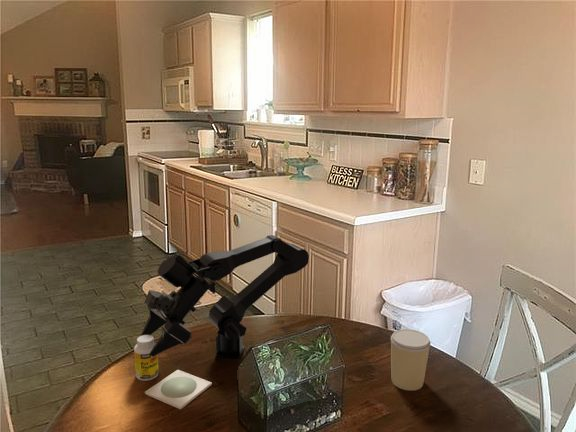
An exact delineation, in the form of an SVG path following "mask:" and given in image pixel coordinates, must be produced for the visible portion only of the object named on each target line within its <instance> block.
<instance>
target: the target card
mask: <svg viewBox="0 0 576 432" xmlns="http://www.w3.org/2000/svg"><path fill="white" fill-rule="evenodd" d="M212 384H213V383H212V381H208V380H207V379H203V378H201V377H198V376H195V375H192V374H191V373H188V372H186V371H183V370H180V369H176V370H175V371H174V372H172V373H171V374H169V375H167V376H166V377H164V378H163V379H162V380H160V381H159V382H157V383H156V384H154V385H153V386H151V387H150V388H149V389H147V390H146V391H144V394H145V395H147V396H148V397H150V398H154V399H155V400H158V401H160V402H162V403H165V404H167V405H169V406H172V407H174V408H175V409H178V410H182V409H183V408H184V407H186V406H187V405H188V404H190V402H192V401H193V400H194V399H196V398H197V397H198V396H199V395H201V394H202V393H203V392H205V391H206V390H207V389H208V388H209V387H211V386H212Z"/></svg>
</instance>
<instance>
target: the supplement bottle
mask: <svg viewBox="0 0 576 432" xmlns="http://www.w3.org/2000/svg"><path fill="white" fill-rule="evenodd" d="M156 343H157V342H155V339H154V336H153V335H152V334H151V335H143V336H141V335H140V336H138V337H137V338H136V344H135V345H134V347H133V348H134V349H133V352H134V368H135V369H134V370H135V377H136V378H137V379H138V380H139V381H143V382H144V381H145V382H146V381H152V380H154V379H155V378H156V377H157V376H158V375H159V372H160V371H159V370H160V369H159V367H160V366H159V354H157V355H155V356H151V355H150V352H151V350H152V349H153V347H154V346H155V344H156Z"/></svg>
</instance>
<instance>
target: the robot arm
mask: <svg viewBox="0 0 576 432" xmlns="http://www.w3.org/2000/svg"><path fill="white" fill-rule="evenodd" d="M274 253H276V256H275V258H274V261H273V263H272V264H271V265H270V266H268V267H267V268H266V269H265V270H264V271H262V273H260V274H259V275H257V277H255V278H254V279H252V281H251V282H250V283H248V284H247V285H246V286H245V287H244V288H242V290H240V291H239V292H238V293H237V294H236V295H235V296H231V297H228V296H226V295H223V296H221V297H220V298H219V300H217V301H216V302H214V303H212V307H211V308H210V310H209V311H208V312H209V313H208V319H209V321H210V323H212V325H213V326H215V327H216V329H218V331H217V335H216V336H215V350H216V353H215V356H216V357H218V358H219V357H220V358H231V359H240V357H241V355H242V353H243V352H244V350H245V348H246V347H245V344H243V343H244V341H243V340H244V339H243V338H244V336H245V334H246V331H247V327H246V326H245V325H244V324H242V323H241V322H242V321H243V318H244V316H245V313H246V311H248V309H249V308H250V307H252V306H253V304H255V303H256V302H257V301H259V300H260V299H261V297H263V296H265V294H266V293H268V292H269V291H270V290H271V289H272V288H273V287H274V286H275V285H277V284H278V283H279V282H280V281H281V280H282V279H284V278H285V277H286V276H289V275H293V274H296V273H298V272H299V271H301V270H303V269H304V268H306V266H307V265H308V264H309V259H310V255H309V253H308V251H307V250H306V249H304V248H302V247H300V246H298V245H296V244H293V243H286V242H285V241H283V240H282V239H281V238H280V237H277V236H275V235H272V234H270V235H267V236H266V237H264V238H260V239H258V240H256V241H253V242H250V243H247V244H244V245H242V246H241V245H240V246H239V247H237V248H234V249H231V250H221V251H220V250H218V251H217V250H216V251H211V252H207V253H206V252H205V253H204V254H202V255H201V256H200V257H199V258H195V259H193V260H190V261H186V260H185V258H183V257H182V256H181V255H180V254H178V252H176V253H174V254H173V255H172V256H170V257H168V258H166V259H165V260H163V261H162V262H161V264H160V265H159V267H158V270H157V275H158V276H160V278H162V279H164V280H165V281H166V282H168V284H170V285H171V286H173V287H174V288H179V287H180V288H179V289H178V290H177V291H175V290H173V291H171V292H170V293H169V294H168V293H164V292H159V291H157V290H156V291H155V290H152V289H149V290H148V292H147V295H146V297H145V299H144V304H146V307H147V312H148V313H147V314H148V318H147V320H146V322H145V325H144V327H143V329H142V331H141V334H140V336H143V335H151V336H152V334H154V333H155V332H156V331H157V330H159V329H160V328H161V336H160V337H159V339H158V340H157V341H156V342H155V343H156V344H155V346H154V347H153V349H152V350H151V352H150V355H151V356H155V355H157V354H158V355H159V354H161V353H162V352H165V351H167V350H170V349H172V348H174V347H175V346H179V345H183V344H185V345H187V344H188V343H189V341H190V340H191V339H192V332H191V331H190V329H189V328H188V327H187V326H186V325H185V323H186V321H185V320H184V319H186V317H187V316H188V314H190V313H191V312H193V313H194V312H196V310H197V308H196V305H197V304H198V303H199V301H200V300H201V299H202V298H203V296H205V294H206V293H207V292H208V291H210V292H211V293H212V294H216V293H217V292H216V282H218V281H220V280H222V279H224V278H225V277H228V276H229V275H231V273H232V272H233V271H234V270H235V269H236V268H238V267H240V266H243V265H245V264H248V263H251V262H254V261H255V260H260V259H261V258H264V257H267V256H268V255H271V254H274ZM195 274H196V275H197V276H196V275H195ZM208 279H209V280H208ZM163 326H164V327H163Z"/></svg>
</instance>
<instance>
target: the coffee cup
mask: <svg viewBox="0 0 576 432" xmlns="http://www.w3.org/2000/svg"><path fill="white" fill-rule="evenodd" d="M390 344H391V345H390V348H391V349H390V363H391V364H390V369H391V371H390V373H391V374H390V375H391V382H392V384H393V385H394V386H396V387H397V388H398V389H400V390H401V389H402V390H404V391H418V390H420V389H421V388H422V387H423V386H424V381H425V377H426V370H427V365H428V359H429V352H430V347H431V341H430V338H429V336H428V335H426V334H425V333H424V332H422V331H419V330H416V329H411V328H409V329H408V328H404V329H403V328H402V329H398V330H396V331H393V333H392V335H391V336H390Z"/></svg>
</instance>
